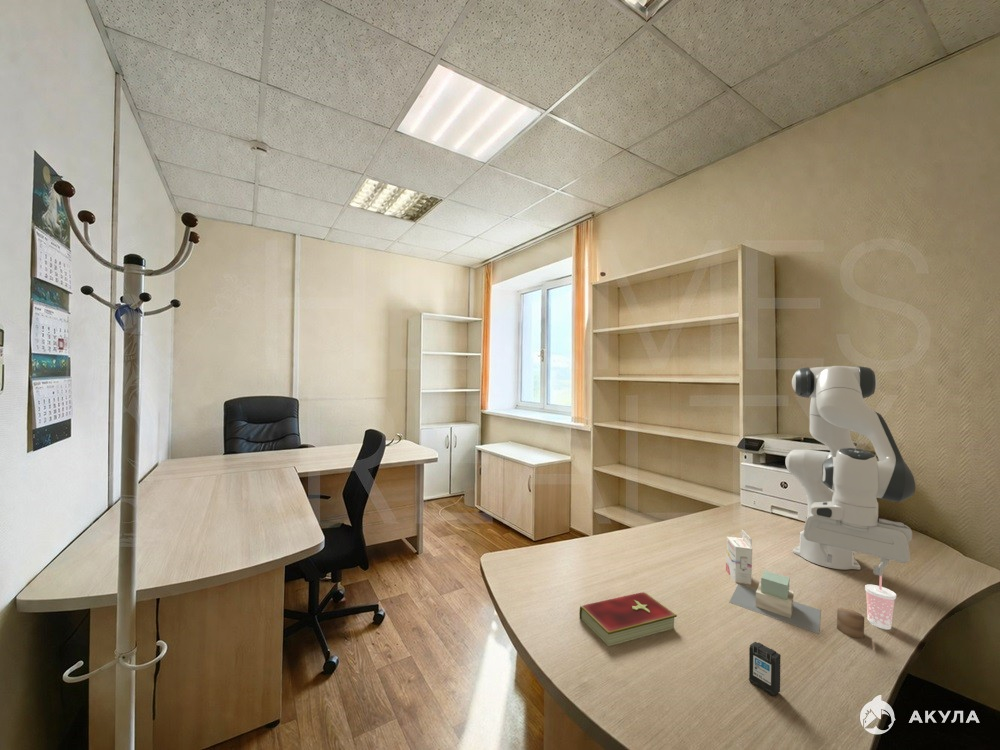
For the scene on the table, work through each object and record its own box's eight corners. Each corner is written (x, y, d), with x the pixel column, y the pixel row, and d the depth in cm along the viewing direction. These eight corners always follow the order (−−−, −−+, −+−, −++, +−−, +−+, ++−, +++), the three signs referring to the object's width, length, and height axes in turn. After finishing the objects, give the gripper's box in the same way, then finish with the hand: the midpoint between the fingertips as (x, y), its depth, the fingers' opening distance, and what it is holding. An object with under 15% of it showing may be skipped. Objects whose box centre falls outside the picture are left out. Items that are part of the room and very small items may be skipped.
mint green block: (763, 583, 117) (764, 570, 117) (789, 591, 113) (789, 577, 113) (760, 592, 112) (761, 577, 112) (787, 600, 108) (787, 585, 108)
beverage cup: (898, 634, 102) (900, 579, 102) (866, 625, 106) (868, 572, 106) (891, 622, 108) (893, 570, 108) (861, 614, 111) (862, 563, 111)
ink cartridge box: (724, 571, 133) (726, 527, 133) (741, 573, 132) (742, 528, 132) (734, 584, 125) (736, 537, 125) (751, 586, 124) (753, 538, 124)
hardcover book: (579, 620, 104) (579, 603, 104) (642, 604, 112) (643, 589, 112) (608, 649, 93) (608, 631, 93) (676, 630, 101) (676, 614, 101)
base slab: (759, 594, 118) (760, 581, 118) (793, 605, 113) (793, 591, 113) (755, 606, 112) (755, 592, 112) (790, 618, 107) (791, 603, 107)
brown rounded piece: (836, 624, 106) (837, 605, 106) (863, 633, 102) (864, 613, 102) (836, 633, 102) (837, 614, 102) (864, 643, 98) (864, 622, 98)
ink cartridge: (748, 681, 84) (749, 643, 85) (754, 677, 86) (754, 640, 86) (774, 697, 80) (775, 657, 80) (780, 693, 81) (780, 653, 82)
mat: (738, 585, 124) (738, 583, 124) (820, 611, 111) (820, 610, 111) (728, 603, 114) (728, 602, 114) (818, 635, 101) (818, 633, 101)
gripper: (910, 521, 98) (908, 578, 98) (805, 501, 111) (803, 551, 111) (914, 528, 93) (912, 587, 93) (803, 506, 106) (801, 558, 106)
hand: (852, 567), depth 102 cm, fingers open, 8 cm apart
